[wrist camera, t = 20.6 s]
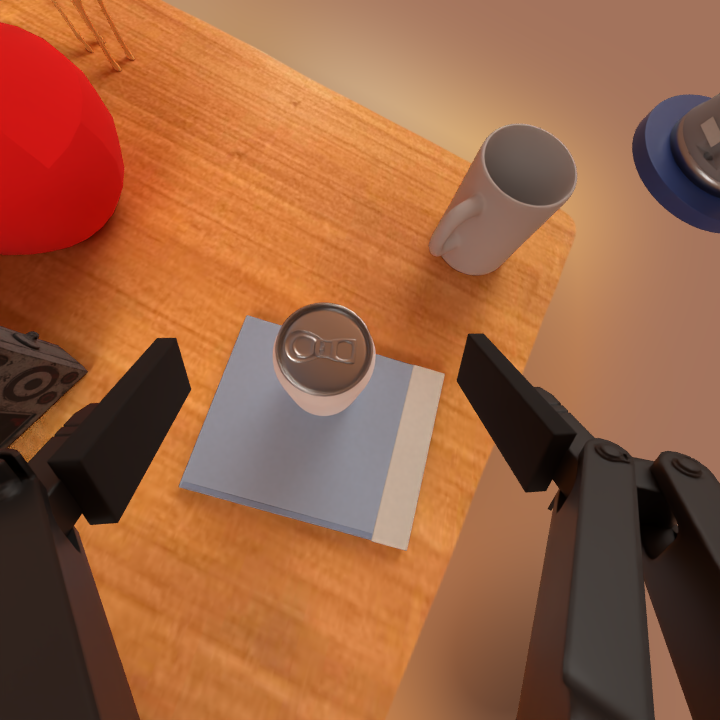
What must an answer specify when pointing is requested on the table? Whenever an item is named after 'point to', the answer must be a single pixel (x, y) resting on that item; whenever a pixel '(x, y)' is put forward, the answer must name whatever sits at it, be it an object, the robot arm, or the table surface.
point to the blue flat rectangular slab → (317, 445)
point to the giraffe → (78, 5)
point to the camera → (30, 380)
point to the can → (324, 357)
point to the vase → (52, 149)
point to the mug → (504, 198)
